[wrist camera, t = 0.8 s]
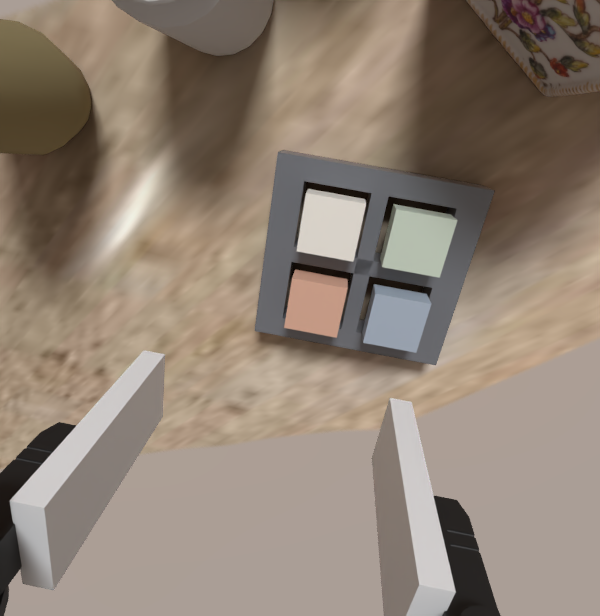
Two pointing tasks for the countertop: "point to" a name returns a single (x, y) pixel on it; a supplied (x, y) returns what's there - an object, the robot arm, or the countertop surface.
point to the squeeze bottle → (38, 93)
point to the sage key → (417, 240)
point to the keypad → (366, 247)
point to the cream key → (331, 224)
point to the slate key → (395, 318)
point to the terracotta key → (316, 303)
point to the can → (204, 21)
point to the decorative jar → (549, 41)
